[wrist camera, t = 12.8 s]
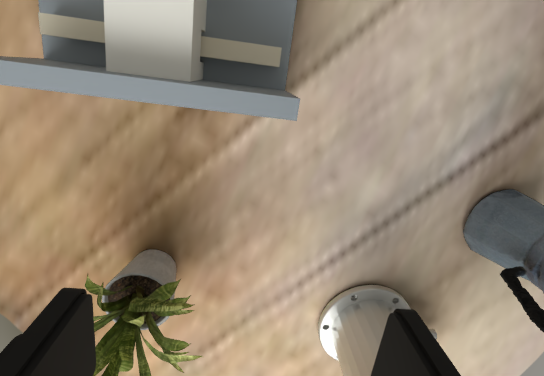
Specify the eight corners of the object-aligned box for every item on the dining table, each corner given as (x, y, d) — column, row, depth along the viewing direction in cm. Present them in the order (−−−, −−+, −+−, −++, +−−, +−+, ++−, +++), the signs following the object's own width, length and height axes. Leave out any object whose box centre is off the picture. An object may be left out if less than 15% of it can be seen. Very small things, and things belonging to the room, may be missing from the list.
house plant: (209, 329, 43) (187, 474, 27) (98, 319, 41) (8, 467, 26) (223, 232, 38) (206, 341, 23) (99, 216, 36) (-10, 322, 21)
